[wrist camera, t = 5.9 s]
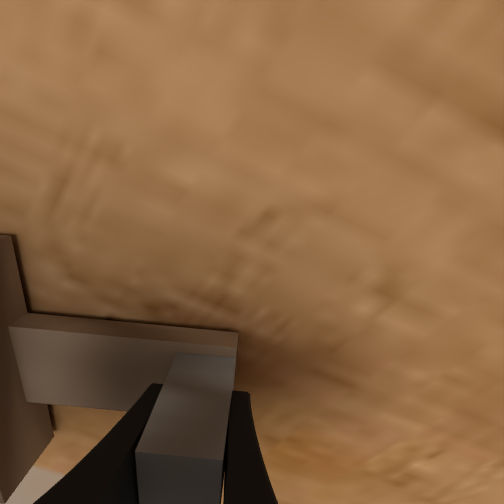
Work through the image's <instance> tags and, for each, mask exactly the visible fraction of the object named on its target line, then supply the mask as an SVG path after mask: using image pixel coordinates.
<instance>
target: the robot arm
mask: <svg viewBox="0 0 504 504" xmlns="http://www.w3.org/2000/svg"><path fill="white" fill-rule="evenodd" d="M162 387H163V384H158V383H152V384H151V385H149V387H148V388H147V389H146V390H145V392H144V393H143V394H142V395H141V397H140V398H139V399H138V400H137V401H136V403H135V404H134V405H133V406H132V407H131V408H130V409H129V411H128V412H127V413H126V414H125V415H124V416H123V417H122V419H121V420H120V421H119V422H118V423H117V424H116V425H115V426H114V427H113V428H112V429H111V431H110V432H109V433H108V434H107V435H106V436H105V437H104V438H103V439H102V440H101V441H100V442H99V443H98V444H97V445H96V446H95V447H94V448H93V449H92V450H91V451H90V452H89V453H88V454H87V455H86V456H85V457H84V458H83V459H82V460H81V461H80V462H79V463H78V464H77V465H76V466H75V467H74V468H73V469H72V470H71V471H69V472H68V473H67V474H66V475H65V476H64V477H63V478H62V479H61V480H60V481H59V482H57V484H55V485H54V486H53V487H52V488H51V489H50V490H48V491H47V492H46V493H45V494H44V495H43V496H41V497H40V498H39V499H38V500H37V501H35V502H34V503H33V504H139V495H138V483H137V470H136V458H135V450H136V448H137V446H138V443H139V441H140V439H141V436H142V434H143V432H144V429H145V427H146V424H147V422H148V420H149V417H150V415H151V413H152V410H153V408H154V406H155V403H156V401H157V398H158V396H159V394H160V391H161V389H162ZM223 504H278V502H277V499H276V497H275V494H274V491H273V489H272V486H271V483H270V480H269V477H268V474H267V471H266V468H265V464H264V461H263V458H262V454H261V451H260V447H259V443H258V439H257V436H256V431H255V427H254V422H253V417H252V411H251V402H250V394H249V393H248V392H243V391H233V390H232V396H231V403H230V410H229V420H228V433H227V446H226V459H225V476H224V502H223Z"/></svg>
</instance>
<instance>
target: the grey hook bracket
mask: <svg viewBox="0 0 504 504" xmlns="http://www.w3.org/2000/svg"><path fill="white" fill-rule="evenodd" d="M238 335H239V333H238V332H227V331H216V330H206V329H195V328H184V327H174V326H163V325H152V324H141V323H131V322H120V321H109V320H99V319H88V318H77V317H66V316H56V315H45V314H34V313H27V308H26V304H25V299H24V294H23V290H22V285H21V281H20V276H19V271H18V267H17V262H16V257H15V253H14V248H13V243H12V239H11V236H9V235H0V503H1V504H5V503H6V502H7V500H8V499H9V497H10V496H11V494H12V493H13V492H14V491H15V489H16V488H17V486H18V485H19V483H20V482H21V481H22V480H23V478H24V477H25V475H26V474H27V472H28V471H29V470H30V469H31V467H32V466H33V465H34V463H35V462H36V460H37V459H38V458H39V456H40V455H41V454H42V452H43V451H44V449H45V448H46V447H47V445H48V444H49V443H50V441H51V440H52V438H53V437H54V434H53V429H52V424H51V420H50V415H49V410H48V406H47V404H54V405H65V406H75V407H86V408H97V409H107V410H118V411H129V409H130V408H131V407H132V406H133V405H134V404H135V403H136V401H137V400H138V399H139V398H140V397H141V395H142V394H143V393H144V392H145V390H146V389H147V388H148V387H149V385H151V384H152V383H158V384H163V387H162V389H161V391H160V394H159V396H158V398H157V401H156V403H155V406H154V408H153V410H152V413H151V415H150V417H149V420H148V422H147V424H146V427H145V429H144V432H143V434H142V436H141V439H140V441H139V443H138V446H137V448H136V450H135V458H136V470H137V483H138V495H139V504H221V497H222V489H223V480H224V472H225V459H226V446H227V433H228V420H229V410H230V403H231V396H232V390H233V391H234V383H235V371H236V359H237V347H238Z"/></svg>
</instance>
